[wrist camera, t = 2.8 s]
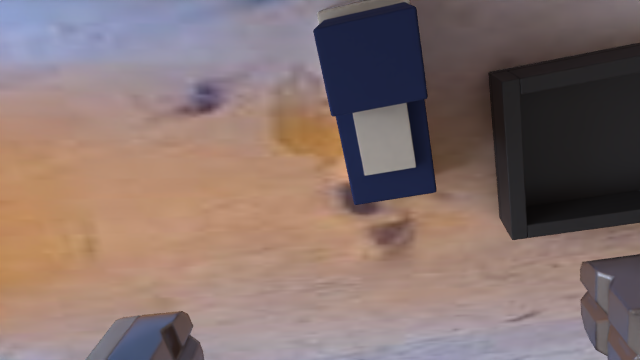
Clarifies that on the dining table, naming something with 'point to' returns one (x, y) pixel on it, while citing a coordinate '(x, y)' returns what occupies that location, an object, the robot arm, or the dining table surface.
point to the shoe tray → (568, 142)
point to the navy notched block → (378, 97)
